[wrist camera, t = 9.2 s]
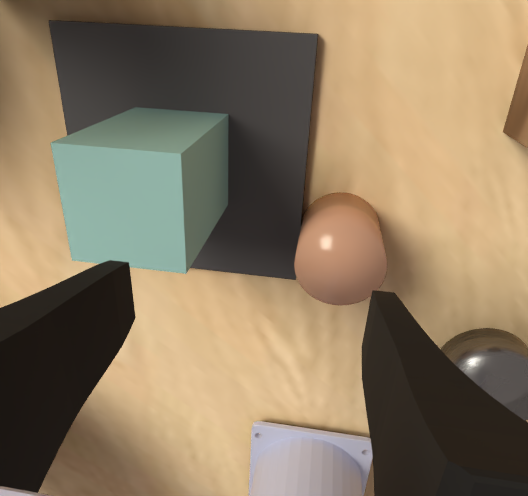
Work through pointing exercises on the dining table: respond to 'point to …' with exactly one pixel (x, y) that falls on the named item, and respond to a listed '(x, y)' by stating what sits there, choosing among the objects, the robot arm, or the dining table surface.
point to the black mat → (211, 101)
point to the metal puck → (494, 365)
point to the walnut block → (519, 108)
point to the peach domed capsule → (340, 250)
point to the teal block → (144, 187)
